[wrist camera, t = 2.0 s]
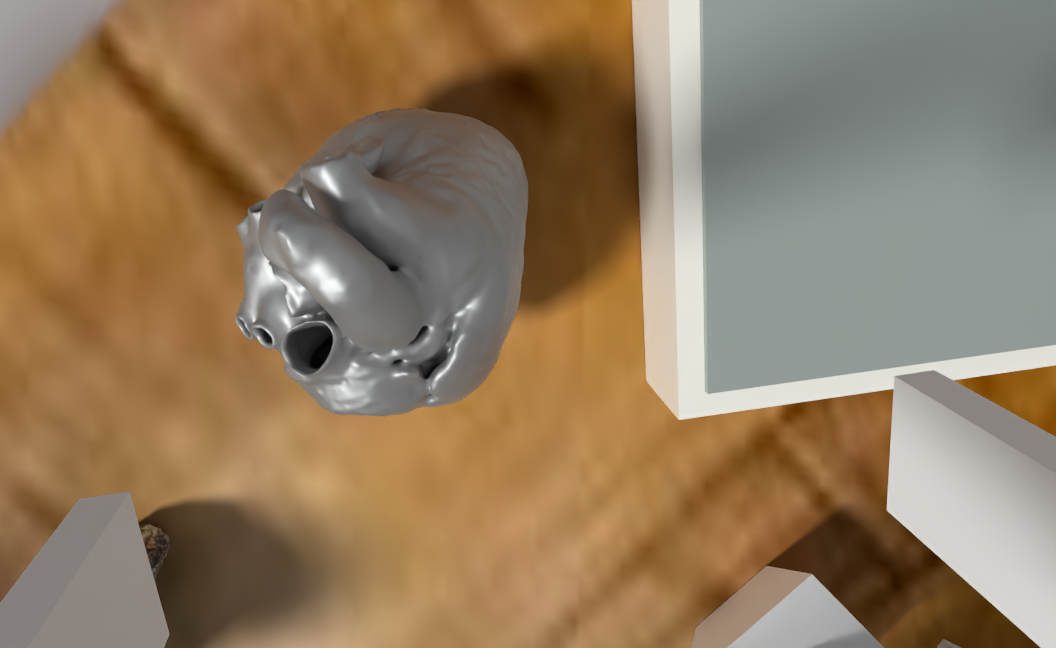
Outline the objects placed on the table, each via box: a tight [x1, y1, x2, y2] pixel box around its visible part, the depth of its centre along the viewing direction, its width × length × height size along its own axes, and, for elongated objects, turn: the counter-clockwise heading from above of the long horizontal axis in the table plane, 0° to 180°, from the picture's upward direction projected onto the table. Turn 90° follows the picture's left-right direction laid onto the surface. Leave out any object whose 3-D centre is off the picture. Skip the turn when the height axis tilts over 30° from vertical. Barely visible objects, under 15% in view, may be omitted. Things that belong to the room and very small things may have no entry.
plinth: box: [632, 0, 1056, 420], centre depth 29 cm, size 16×16×4 cm
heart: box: [236, 108, 528, 416], centre depth 24 cm, size 10×10×12 cm
